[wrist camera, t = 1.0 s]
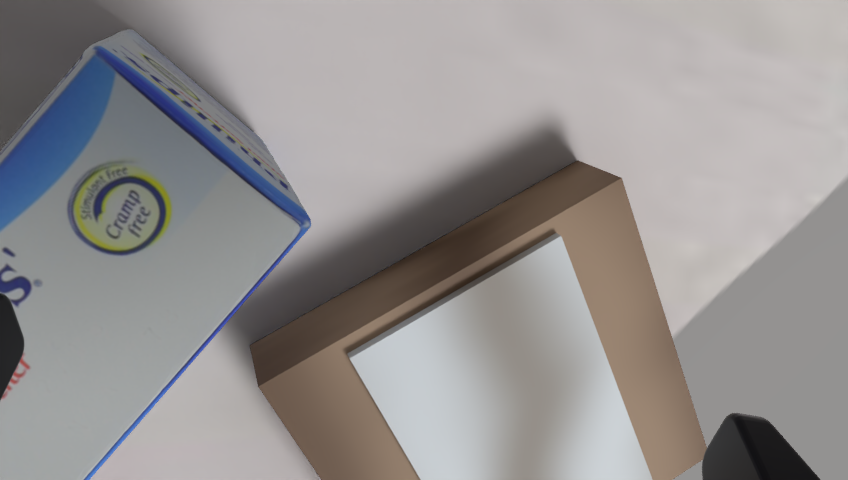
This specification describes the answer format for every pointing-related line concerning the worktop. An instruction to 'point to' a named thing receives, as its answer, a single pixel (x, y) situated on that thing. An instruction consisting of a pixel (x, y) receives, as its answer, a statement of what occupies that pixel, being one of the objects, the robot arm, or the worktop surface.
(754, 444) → the robot arm
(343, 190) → the worktop surface
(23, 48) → the worktop surface
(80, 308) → the medicine box
